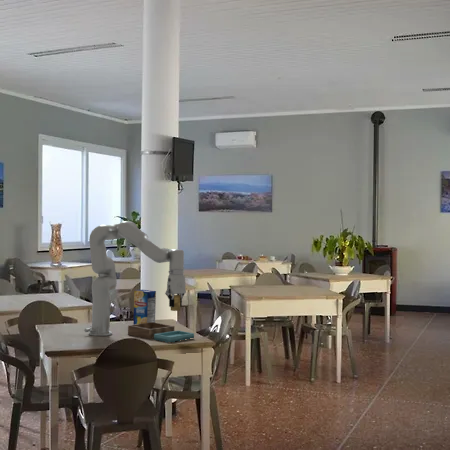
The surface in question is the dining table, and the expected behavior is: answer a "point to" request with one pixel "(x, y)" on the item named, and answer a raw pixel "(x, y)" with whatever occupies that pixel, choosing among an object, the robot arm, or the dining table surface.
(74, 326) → the dining table surface
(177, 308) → the mustard cylinder
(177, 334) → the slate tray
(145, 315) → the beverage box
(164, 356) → the dining table surface
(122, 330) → the dining table surface
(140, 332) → the brown wooden tray
